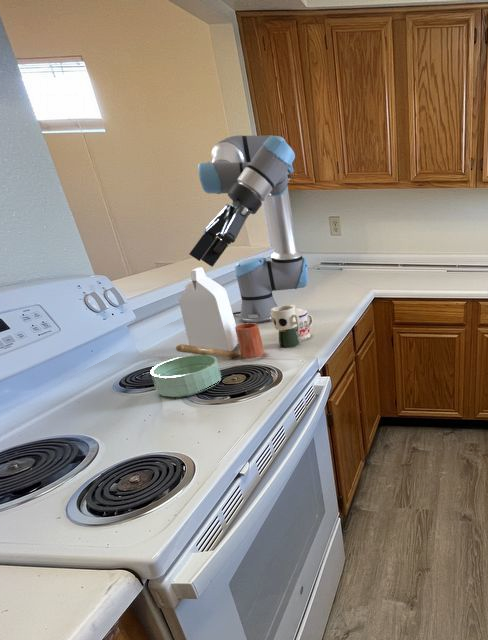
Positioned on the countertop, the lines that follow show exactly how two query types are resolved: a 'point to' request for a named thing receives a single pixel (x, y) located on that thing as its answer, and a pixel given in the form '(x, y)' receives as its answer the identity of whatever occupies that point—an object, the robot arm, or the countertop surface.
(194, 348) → the stirring stick
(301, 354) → the countertop surface
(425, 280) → the countertop surface
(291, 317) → the character mug
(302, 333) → the white patterned mug
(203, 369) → the bowl
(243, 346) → the utensil crock
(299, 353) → the countertop surface
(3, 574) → the countertop surface
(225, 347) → the milk
